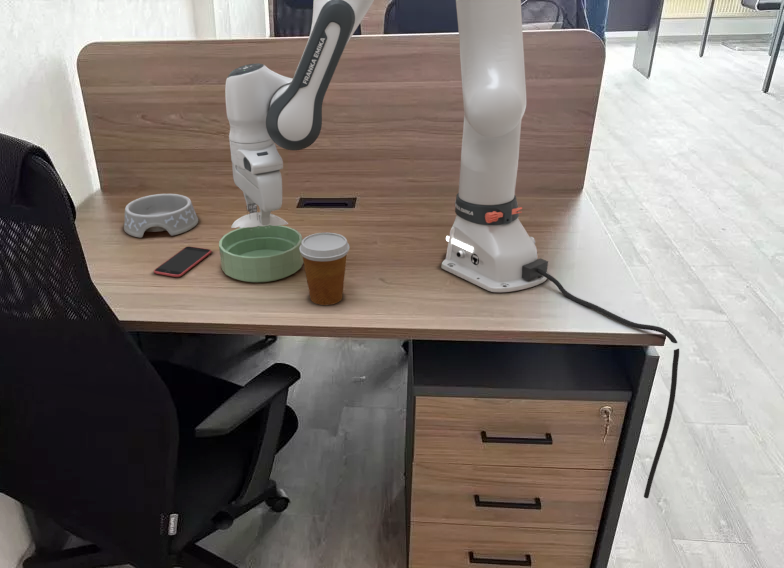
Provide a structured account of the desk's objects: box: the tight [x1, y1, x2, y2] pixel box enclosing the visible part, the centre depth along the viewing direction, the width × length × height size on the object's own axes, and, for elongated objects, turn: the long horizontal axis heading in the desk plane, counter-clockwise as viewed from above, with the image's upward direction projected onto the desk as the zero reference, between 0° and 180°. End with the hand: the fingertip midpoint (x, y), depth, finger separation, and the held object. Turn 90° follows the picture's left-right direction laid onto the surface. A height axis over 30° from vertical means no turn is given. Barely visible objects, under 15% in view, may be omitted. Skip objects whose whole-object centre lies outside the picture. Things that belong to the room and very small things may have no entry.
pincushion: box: [230, 205, 289, 230], centre depth 150 cm, size 12×6×6 cm, turn 91°
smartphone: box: [153, 245, 212, 278], centre depth 160 cm, size 7×1×14 cm
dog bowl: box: [123, 193, 199, 238], centre depth 179 cm, size 17×18×5 cm
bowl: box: [218, 225, 304, 283], centre depth 155 cm, size 18×18×6 cm
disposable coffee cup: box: [299, 231, 351, 306], centre depth 139 cm, size 10×10×12 cm
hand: (258, 217), depth 151 cm, fingers closed on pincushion, 6 cm apart
